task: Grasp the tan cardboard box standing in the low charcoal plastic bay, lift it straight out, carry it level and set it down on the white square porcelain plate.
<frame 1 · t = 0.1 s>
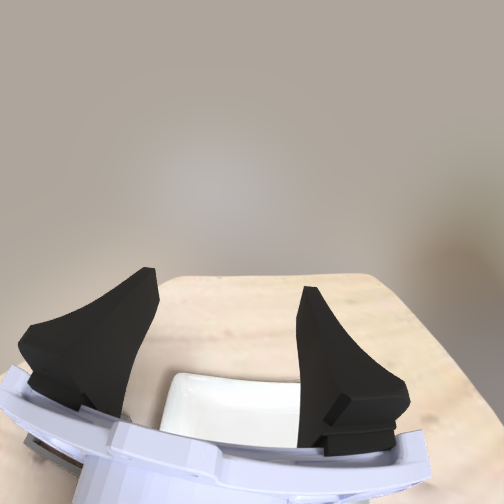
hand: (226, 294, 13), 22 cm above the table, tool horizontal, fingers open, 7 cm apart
bay: (85, 441, 21), on the table
salad plate: (258, 470, 22), on the table
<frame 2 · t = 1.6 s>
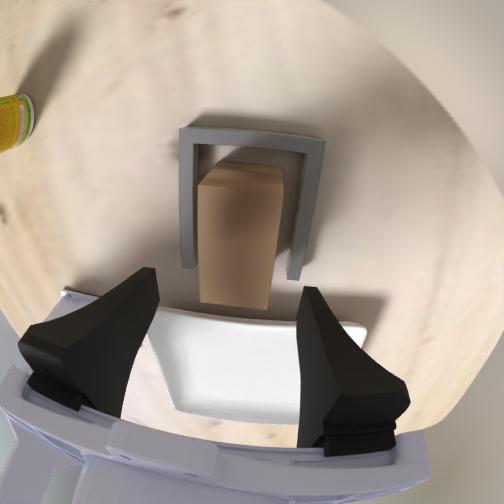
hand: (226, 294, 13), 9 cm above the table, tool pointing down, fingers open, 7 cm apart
supplement bottle: (21, 118, 17), on the table
tan cardboard box: (241, 231, 19), in the bay
bay: (245, 214, 21), on the table
salad plate: (252, 363, 31), on the table
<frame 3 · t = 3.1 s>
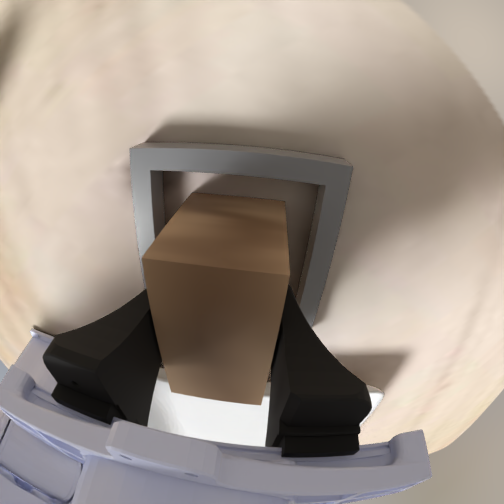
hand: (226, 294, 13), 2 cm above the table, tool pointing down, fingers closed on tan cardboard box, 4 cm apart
tan cardboard box: (224, 302, 13), in the bay, touching gripper
bay: (233, 266, 15), on the table
salad plate: (246, 414, 26), on the table
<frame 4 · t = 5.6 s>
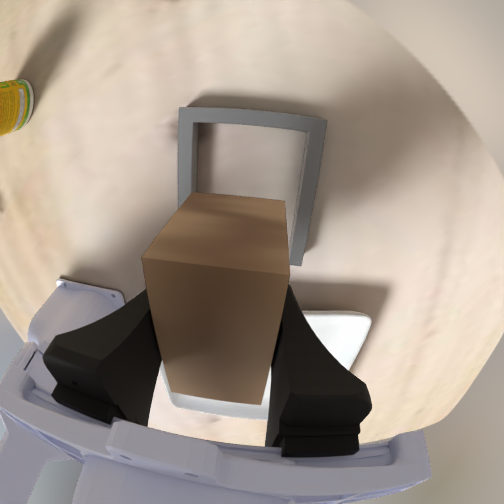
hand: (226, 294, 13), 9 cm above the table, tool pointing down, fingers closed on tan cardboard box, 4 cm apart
supplement bottle: (21, 103, 16), on the table
tan cardboard box: (224, 301, 13), point 10 cm above the table, touching gripper
bay: (245, 197, 20), on the table
salad plate: (251, 356, 31), on the table
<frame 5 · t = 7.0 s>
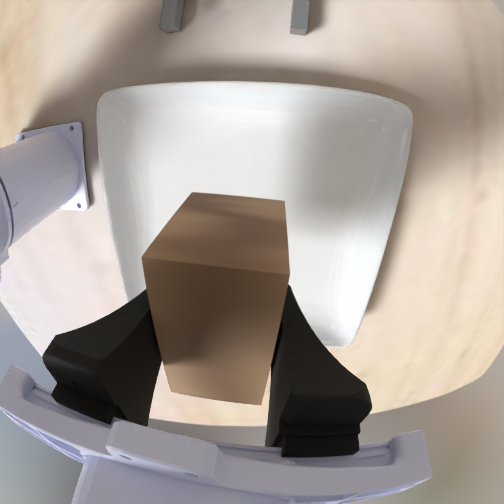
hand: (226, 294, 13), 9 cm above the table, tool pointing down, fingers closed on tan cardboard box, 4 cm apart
tan cardboard box: (224, 301, 13), point 10 cm above the table, touching gripper
salad plate: (246, 218, 22), on the table
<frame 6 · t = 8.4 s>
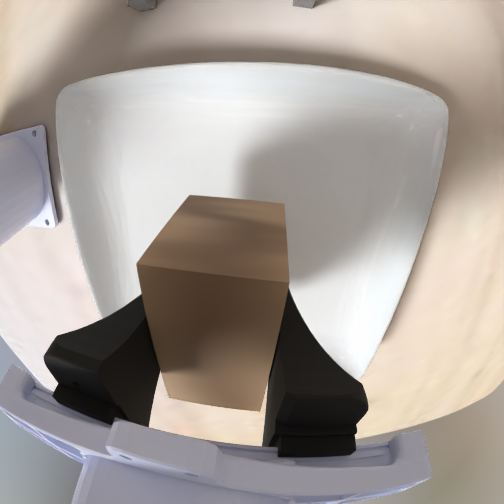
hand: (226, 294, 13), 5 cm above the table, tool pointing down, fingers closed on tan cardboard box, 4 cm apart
tan cardboard box: (223, 307, 12), point 6 cm above the table, touching gripper, salad plate
salad plate: (240, 237, 18), on the table, touching tan cardboard box
when the fingers open (5 cm above the table, at t = 8.7 s): tan cardboard box stays where it is, resting on salad plate.
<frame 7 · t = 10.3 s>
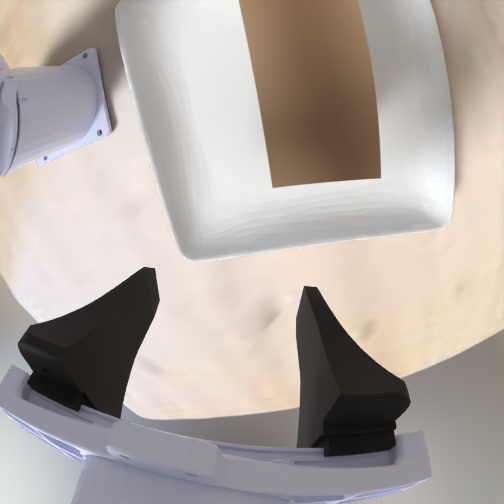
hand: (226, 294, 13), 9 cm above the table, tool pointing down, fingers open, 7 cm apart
tan cardboard box: (307, 86, 11), point 6 cm above the table, touching salad plate
salad plate: (297, 91, 17), on the table, touching tan cardboard box
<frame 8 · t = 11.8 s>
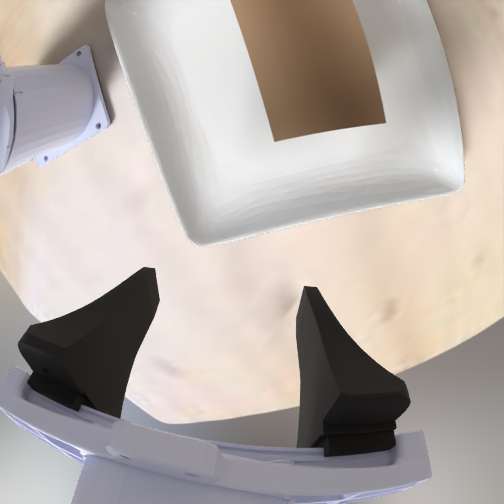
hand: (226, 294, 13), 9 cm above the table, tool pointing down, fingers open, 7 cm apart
tan cardboard box: (299, 47, 10), point 6 cm above the table, touching salad plate
salad plate: (293, 66, 16), on the table, touching tan cardboard box
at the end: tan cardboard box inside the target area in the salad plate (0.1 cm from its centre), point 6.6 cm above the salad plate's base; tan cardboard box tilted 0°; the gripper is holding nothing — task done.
